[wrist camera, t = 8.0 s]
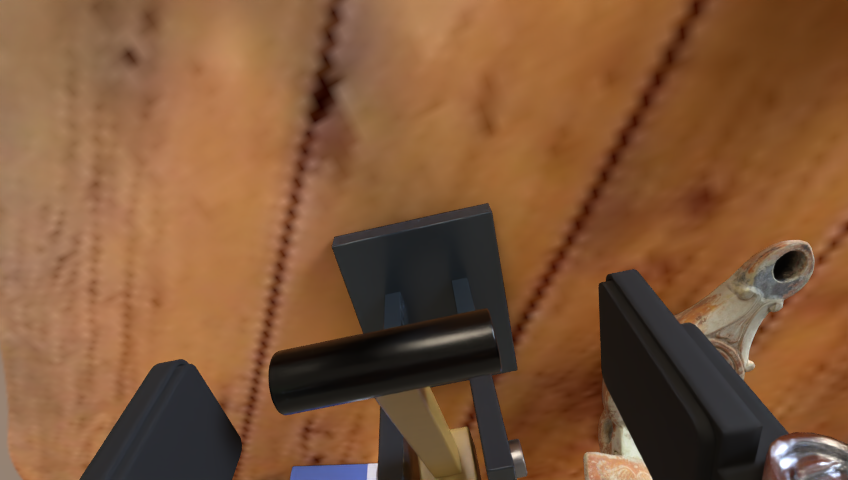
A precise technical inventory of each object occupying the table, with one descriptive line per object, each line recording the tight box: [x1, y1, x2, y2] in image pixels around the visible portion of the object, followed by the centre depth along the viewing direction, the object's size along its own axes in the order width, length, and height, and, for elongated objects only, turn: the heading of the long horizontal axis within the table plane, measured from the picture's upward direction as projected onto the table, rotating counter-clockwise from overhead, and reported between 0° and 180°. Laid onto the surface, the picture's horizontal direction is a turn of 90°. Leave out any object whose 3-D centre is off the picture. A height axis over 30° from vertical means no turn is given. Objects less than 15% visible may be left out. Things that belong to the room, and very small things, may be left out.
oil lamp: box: [583, 240, 814, 480], centre depth 27 cm, size 9×21×10 cm, turn 153°
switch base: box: [332, 203, 527, 480], centre depth 23 cm, size 12×9×13 cm
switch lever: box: [269, 308, 502, 480], centre depth 15 cm, size 13×5×2 cm, turn 13°
